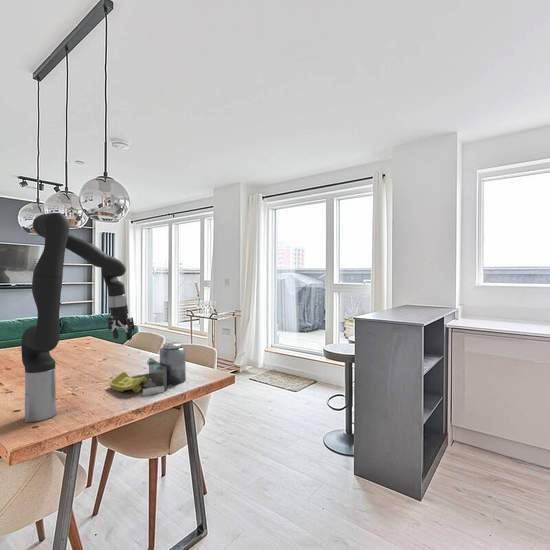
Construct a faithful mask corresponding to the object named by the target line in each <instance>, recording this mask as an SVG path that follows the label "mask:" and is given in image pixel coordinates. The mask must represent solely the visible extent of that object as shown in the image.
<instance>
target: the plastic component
mask: <svg viewBox="0 0 550 550" xmlns="http://www.w3.org/2000/svg"><path fill="white" fill-rule="evenodd" d="M147 383H148V379H147V378H146V377H145V376H143V377H142V378H136V379H132V378H130V375H128V374H127V373H126V372H124V371H123V372H121V373H120V374H118V375H117V376H115V377H114V378H113V379H112V380H111V381H109V382H108V384H109V386H110V387H111V389H112V390H114V389H115V390H114V391H118V392H121V393H122V392H124V391H127V390H132V391H133V393H135V394H136V392H137V393H139V392H140V391H141V390H142V389H143V386H145V385H147Z"/></svg>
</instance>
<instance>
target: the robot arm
mask: <svg viewBox="0 0 550 550" xmlns="http://www.w3.org/2000/svg"><path fill="white" fill-rule="evenodd" d="M32 228H33V231H34V232H35V233H36V234H37V235H38V236H40V237H42V238H44V246H43V250H42V252H41V255H40V257H39V259H38V261H37V262H36V264H35V267H34V270H33V273H32V281H31V292H32V296H33V300H34V303H35V306H36V310H37V320H36V324H35V325H31V326H29V327H28V328H26V329H25V330H24V332H23V333H22V335H21V340H20V342H21V344H20V346H21V347H20V349H21V362H22V365H23V367H24V423H30V422H33V423H34V422H41V421H45V420H47V419H50V418H51V419H52V418H53V417H55V415H57V404H56V403H57V401H56V400H57V399H56V397H57V396H56V393H57V392H56V389H57V387H56V381H57V380H56V375H57V374H56V360H55V359H54V358H53V357H52V356H51V354H50V352H51V351H54V350H55V348H56V347H57V346H58V344H59V341H60V336H61V330H60V326H61V325H60V311H61V310H60V309H61V308H60V307H61V297H62V296H61V295H62V289H63V288H62V285H63V276H64V264H65V254H66V250H69V251H70V252H72V253H74V254H75V255H77V256H78V257H80V258H82V259H83V260H84V261H86V262H88V263H89V264H91V265H92V266H94V267H96V268H100V269H101V270H100V271H101V275H102V278H103V280H104V283H105V285H106V287H107V295H108V307H109V314H110V316H108V317H107V324H108V326H107V327H108V331H111V332H112V337H113V340H117V339H119V330H118V329H119V327H120V328H122V329H123V330H124V331H125V336H126V341H130V340H132V339H133V334H132V331H135V329H136V328H135V322H134V318H133V317H128V314H129V307H128V306H129V305H128V297H127V296H126V295H127V294H126V288H125V283H124V282H123V281H120V280H119V278H118V277H122V276H124V275H125V274H126V271H127V269H126V265H125V264H124V262H122V261H121V260H119V259H118V258H116V257H114V256H112V255H109V254H107V253H105V252H104V251H103V250H101V249H100V248H98V247H97V246H96V245H94V244H93V243H91V242H88V241H86V240H83V239H81V238H79V237H78V236H75V235H73V234H72V233H70V221H69V219H68V218H67V216H66V215H64V214H63V213H60V212H49V213H45V214H44V213H43V214H40V215H38V216H36V217H35V218H34V219H33V221H32Z"/></svg>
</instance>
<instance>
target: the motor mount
mask: <svg viewBox="0 0 550 550" xmlns="http://www.w3.org/2000/svg"><path fill="white" fill-rule="evenodd" d="M186 363H187V362H186V346H185V345H184V346H183V343H182V342H174V341H173V342H166V343H163V344H162V347H160V348H159V362H158V361H157V360H156V359H154V358H152V357H149V358H148V360H146V364H147V365H148V372H146V373H140V374H134V375H129V377H130V378H132V379H136V378H142V377H143V376H145V377H146V378H147V380H150V379H151V380H152V381H151V380H150V381H151V382H152V383H154V384H155V385H156V386H153V387H147V388H142V389H141V390H142V396H143V397H145V396H146V397H147V396H150V395H154V394H160V393H164V392H167V391H168V386H174V385H175V384H176V385H180V384H183V383H185V382H186V380H187V379H186V378H187V374H186V370H187V369H186V368H187V367H186ZM148 378H150V379H148ZM176 385H175V386H176Z"/></svg>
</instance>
